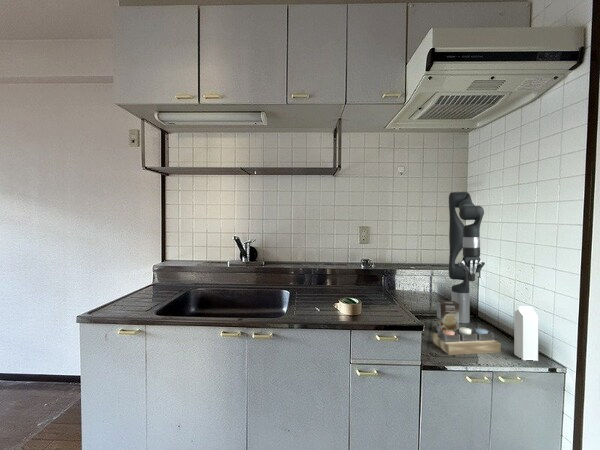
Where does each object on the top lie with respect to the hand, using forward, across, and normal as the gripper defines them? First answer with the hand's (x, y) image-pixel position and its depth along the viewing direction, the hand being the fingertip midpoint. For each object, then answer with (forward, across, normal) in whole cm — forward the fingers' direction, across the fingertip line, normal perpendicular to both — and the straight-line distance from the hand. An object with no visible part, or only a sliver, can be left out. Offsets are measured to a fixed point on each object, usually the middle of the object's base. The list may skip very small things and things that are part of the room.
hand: (471, 281), depth 149 cm
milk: (+29, -10, +22) cm, 37 cm away
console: (+29, +9, +9) cm, 31 cm away
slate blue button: (+24, +1, +9) cm, 26 cm away
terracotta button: (+24, +17, +9) cm, 31 cm away
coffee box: (+29, +7, -9) cm, 31 cm away
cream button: (+23, +9, +9) cm, 26 cm away
